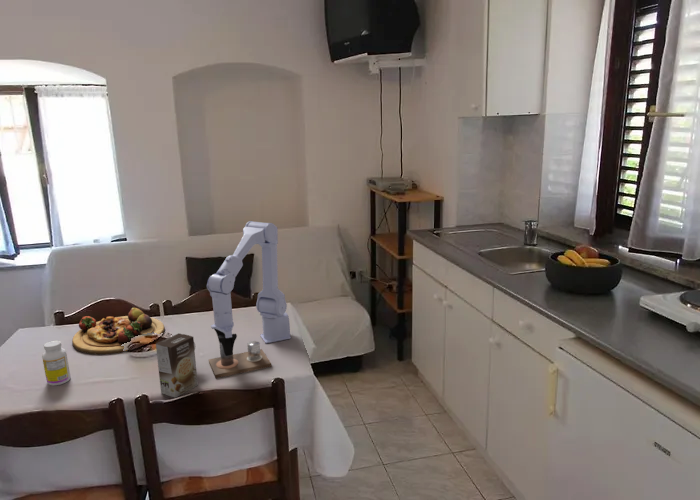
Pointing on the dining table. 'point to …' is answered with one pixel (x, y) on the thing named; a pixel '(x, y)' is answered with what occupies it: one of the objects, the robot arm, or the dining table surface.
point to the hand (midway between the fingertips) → (226, 350)
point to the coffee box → (176, 364)
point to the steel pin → (225, 357)
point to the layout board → (241, 362)
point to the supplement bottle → (55, 363)
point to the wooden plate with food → (113, 332)
